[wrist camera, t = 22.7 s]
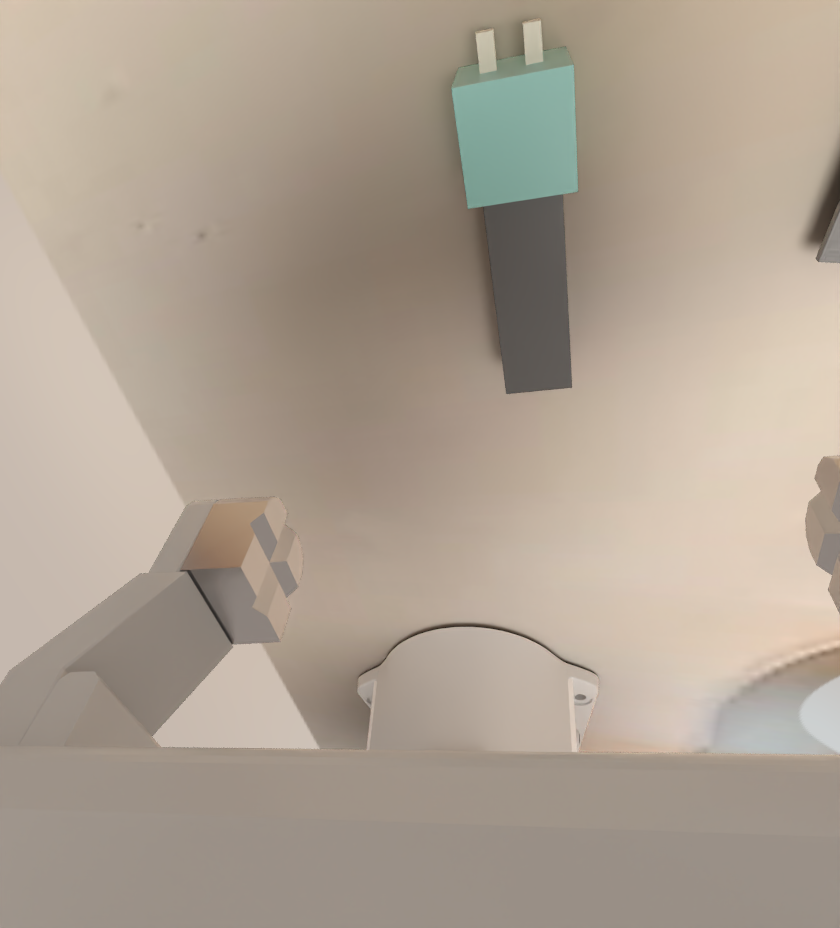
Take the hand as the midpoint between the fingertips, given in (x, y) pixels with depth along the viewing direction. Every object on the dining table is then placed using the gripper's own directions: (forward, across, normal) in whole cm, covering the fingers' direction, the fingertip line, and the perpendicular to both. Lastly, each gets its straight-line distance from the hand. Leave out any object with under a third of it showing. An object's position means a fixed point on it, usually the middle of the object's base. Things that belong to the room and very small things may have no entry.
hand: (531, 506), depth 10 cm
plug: (+21, 0, -3) cm, 21 cm away
